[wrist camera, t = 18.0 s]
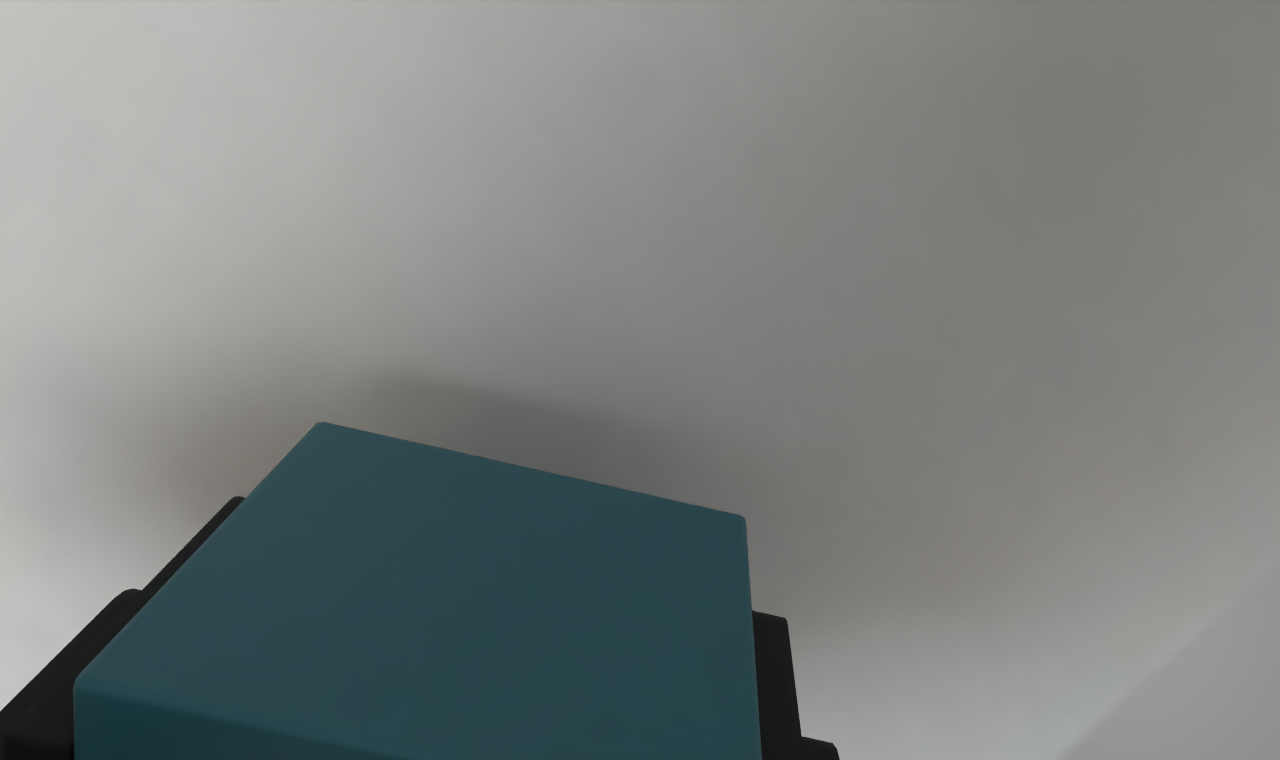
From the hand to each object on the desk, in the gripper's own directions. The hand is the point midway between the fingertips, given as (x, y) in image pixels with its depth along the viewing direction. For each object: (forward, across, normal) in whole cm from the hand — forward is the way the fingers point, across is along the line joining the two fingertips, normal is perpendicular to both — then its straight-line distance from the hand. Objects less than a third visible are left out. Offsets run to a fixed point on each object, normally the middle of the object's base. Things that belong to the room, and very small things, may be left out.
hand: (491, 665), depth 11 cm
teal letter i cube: (0, 0, 0) cm, 0 cm away
